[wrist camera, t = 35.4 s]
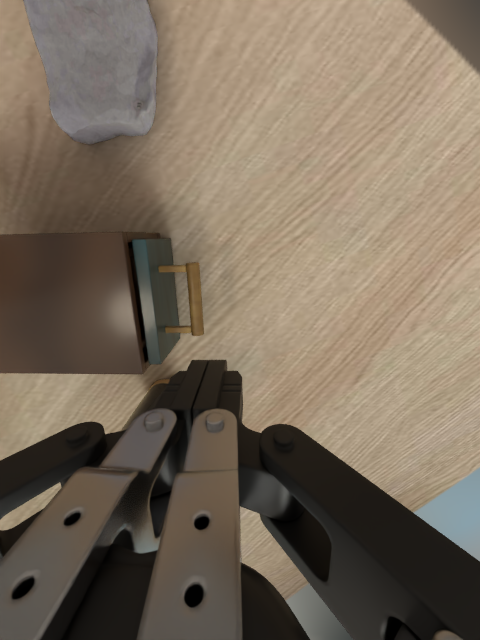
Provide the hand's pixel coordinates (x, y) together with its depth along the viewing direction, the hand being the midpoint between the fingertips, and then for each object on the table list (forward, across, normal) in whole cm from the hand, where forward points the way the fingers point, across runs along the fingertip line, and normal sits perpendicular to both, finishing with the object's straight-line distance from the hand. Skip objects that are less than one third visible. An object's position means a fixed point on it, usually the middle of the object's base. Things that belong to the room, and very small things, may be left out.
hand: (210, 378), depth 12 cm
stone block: (+20, +11, -21) cm, 31 cm away
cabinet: (+20, +16, 0) cm, 25 cm away
